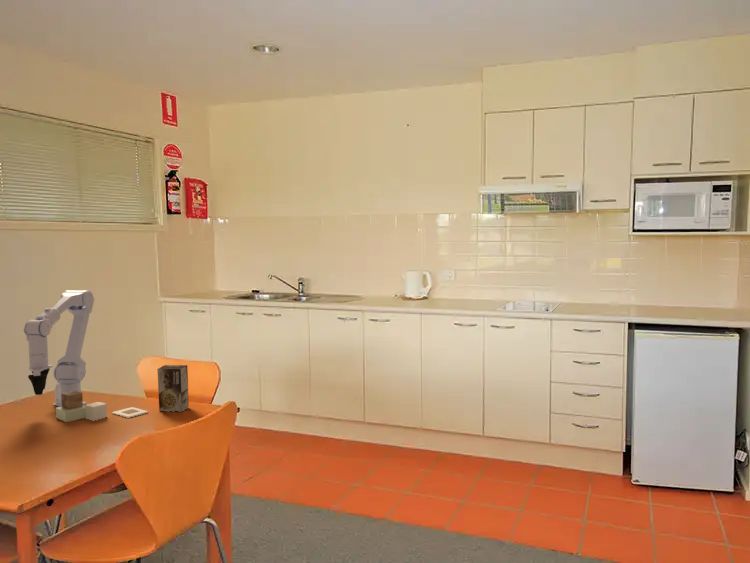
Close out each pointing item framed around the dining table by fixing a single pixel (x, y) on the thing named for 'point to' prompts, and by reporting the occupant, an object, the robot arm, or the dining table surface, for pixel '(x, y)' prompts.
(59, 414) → the base block
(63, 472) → the dining table surface
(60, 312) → the robot arm
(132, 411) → the card
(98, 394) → the dining table surface
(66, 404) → the walnut cube
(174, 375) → the coffee box
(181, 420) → the dining table surface
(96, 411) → the grey cube
